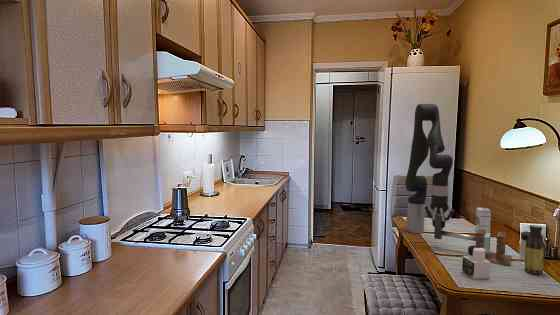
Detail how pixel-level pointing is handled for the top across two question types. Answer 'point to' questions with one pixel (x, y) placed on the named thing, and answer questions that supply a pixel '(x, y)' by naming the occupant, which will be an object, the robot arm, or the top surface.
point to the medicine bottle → (476, 263)
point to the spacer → (487, 242)
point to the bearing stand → (500, 248)
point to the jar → (524, 244)
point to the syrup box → (483, 219)
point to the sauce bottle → (534, 251)
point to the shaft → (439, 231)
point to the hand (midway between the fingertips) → (438, 227)
